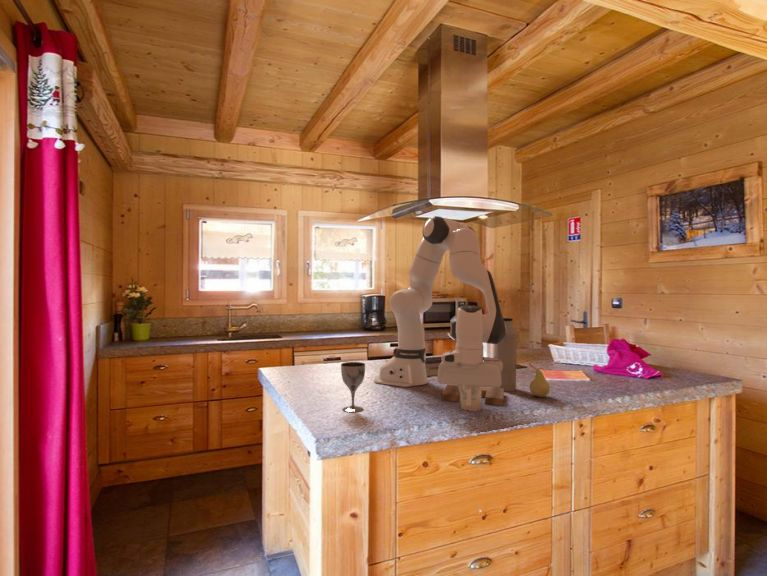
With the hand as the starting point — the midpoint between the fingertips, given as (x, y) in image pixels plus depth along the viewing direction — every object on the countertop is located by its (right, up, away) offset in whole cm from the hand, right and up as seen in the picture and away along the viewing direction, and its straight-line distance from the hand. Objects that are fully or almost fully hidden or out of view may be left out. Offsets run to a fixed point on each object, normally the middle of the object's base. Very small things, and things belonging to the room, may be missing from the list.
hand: (468, 399), depth 141 cm
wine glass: (-37, -5, +4) cm, 38 cm away
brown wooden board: (+5, -4, +19) cm, 20 cm away
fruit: (+30, -5, +21) cm, 37 cm away
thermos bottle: (+21, -4, +32) cm, 38 cm away
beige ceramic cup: (+1, -5, +5) cm, 7 cm away
